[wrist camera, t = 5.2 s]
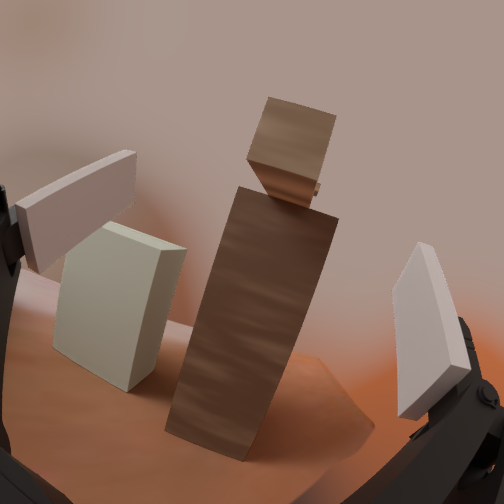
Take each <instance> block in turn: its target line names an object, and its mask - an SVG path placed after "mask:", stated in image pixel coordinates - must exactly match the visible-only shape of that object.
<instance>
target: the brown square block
mask: <svg viewBox="0 0 504 504" xmlns="http://www.w3.org/2000/svg"><path fill="white" fill-rule="evenodd" d="M335 119H336V115H333V114H329V113H326V112H322V111H320V110H316V109H313V108H309V107H306V106H302V105H298V104H295V103H291V102H287V101H283V100H279V99H275V98H271V97H268V100H267V102H266V105H265V108H264V111H263V113H262V116H261V119H260V122H259V124H258V127H257V130H256V133H255V135H254V138H253V141H252V144H251V147H250V150H249V152H248V155H247V161H248V162H249V164H250V166H251V167H252V169H253V171H254V172H255V174H256V176H257V177H258V179H259V180H260V182H261V184H262V185H263V187H264V189H265V190H266V192H267V194H268V195H269V196H272V197H276V198H279V199H282V200H285V201H288V202H291V203H294V204H297V205H300V206H303V207H306V208H309V207H310V204H311V201H312V198H313V196H317V194H318V191H319V188H320V185H321V184H320V183H317V181H318V178H319V175H320V171H321V168H322V164H323V161H324V158H325V154H326V151H327V147H328V144H329V141H330V137H331V133H332V130H333V126H334V123H335Z"/></svg>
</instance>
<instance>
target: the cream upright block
mask: <svg viewBox="0 0 504 504" xmlns="http://www.w3.org/2000/svg"><path fill="white" fill-rule="evenodd" d="M186 252H187V249H186V248H183V247H180V246H177V245H175V244H172V243H169V242H166V241H164V240H161V239H158V238H155V237H153V236H150V235H147V234H144V233H142V232H139V231H136V230H134V229H131V228H128V227H125V226H123V225H120V224H117V223H114V222H112V221H109V222H107V223H106V224H105V225H103V226H102V227H100V228H99V229H98V230H96V231H95V232H94V233H92V234H91V235H90V236H88V237H87V238H86V239H84V240H83V241H82V242H80V243H79V244H78V245H76V246H75V247H74V248H72V249H71V250H70V251H68V252H67V254H66V259H65V264H64V269H63V274H62V279H61V285H60V291H59V297H58V304H57V311H56V319H55V328H54V337H53V348H54V349H56V350H57V351H59V352H60V353H61V354H63V355H64V356H66V357H68V358H69V359H71V360H72V361H74V362H75V363H77V364H78V365H80V366H82V367H83V368H85V369H86V370H88V371H90V372H91V373H93V374H95V375H96V376H98V377H100V378H102V379H103V380H105V381H107V382H109V383H110V384H112V385H114V386H116V387H118V388H119V389H121V390H123V391H125V392H128V391H130V390H131V389H132V388H133V387H134V386H136V385H137V384H138V383H139V382H140V381H142V380H143V379H144V378H145V377H146V376H148V375H149V374H150V373H151V372H152V371H154V369H155V365H156V361H157V357H158V353H159V349H160V345H161V341H162V337H163V333H164V329H165V326H166V322H167V318H168V315H169V311H170V307H171V303H172V300H173V296H174V293H175V289H176V286H177V283H178V279H179V276H180V272H181V269H182V266H183V262H184V259H185V256H186Z"/></svg>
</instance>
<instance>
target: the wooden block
mask: <svg viewBox="0 0 504 504" xmlns="http://www.w3.org/2000/svg"><path fill="white" fill-rule="evenodd" d="M338 220H339V219H338V218H336V217H333V216H330V215H327V214H324V213H321V212H318V211H315V210H312V209H309V208H306V207H303V206H300V205H297V204H294V203H291V202H288V201H285V200H282V199H279V198H276V197H272V196H269V195H266V194H263V193H260V192H256V191H253V190H250V189H247V188H243V187H240V186H239V187H238V190H237V193H236V196H235V199H234V202H233V205H232V208H231V211H230V214H229V217H228V220H227V223H226V226H225V229H224V232H223V235H222V238H221V241H220V244H219V247H218V250H217V254H216V257H215V260H214V263H213V266H212V269H211V273H210V276H209V279H208V282H207V285H206V288H205V292H204V295H203V299H202V301H201V305H200V308H199V311H198V315H197V318H196V321H195V324H194V328H193V331H192V334H191V338H190V341H189V345H188V348H187V351H186V355H185V358H184V362H183V365H182V369H181V372H180V376H179V379H178V383H177V386H176V390H175V394H174V397H173V401H172V404H171V408H170V412H169V415H168V419H167V423H166V427H165V431H167V432H169V433H171V434H173V435H176V436H178V437H180V438H183V439H185V440H187V441H190V442H192V443H194V444H197V445H199V446H202V447H204V448H207V449H210V450H212V451H215V452H218V453H220V454H223V455H226V456H229V457H232V458H234V459H237V460H240V461H244V459H245V457H246V455H247V453H248V451H249V449H250V447H251V445H252V443H253V440H254V438H255V436H256V434H257V432H258V430H259V427H260V425H261V423H262V421H263V419H264V416H265V414H266V412H267V410H268V407H269V405H270V403H271V400H272V398H273V396H274V393H275V391H276V389H277V386H278V384H279V382H280V379H281V377H282V375H283V372H284V370H285V367H286V365H287V362H288V360H289V357H290V355H291V352H292V350H293V347H294V345H295V342H296V340H297V337H298V334H299V332H300V329H301V327H302V324H303V322H304V319H305V316H306V314H307V311H308V308H309V305H310V303H311V299H312V297H313V294H314V292H315V289H316V286H317V283H318V280H319V278H320V275H321V272H322V269H323V266H324V263H325V260H326V257H327V254H328V251H329V248H330V245H331V242H332V239H333V236H334V233H335V230H336V227H337V224H338Z"/></svg>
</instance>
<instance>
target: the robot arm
mask: <svg viewBox="0 0 504 504" xmlns="http://www.w3.org/2000/svg"><path fill="white" fill-rule="evenodd" d="M136 159H137V152H134V151H130V150H126V149H124V150H122V151H119V152H117V153H115V154H112V155H110V156H107V157H105V158H103V159H101V160H99V161H96V162H94V163H92V164H90V165H88V166H85V167H83V168H81V169H79V170H77V171H75V172H73V173H71V174H68V175H66V176H65V177H63V178H60V179H59V180H57V181H55V182H53V183H51V184H49V185H47V186H45V187H43V188H41V189H39V190H38V191H36V192H34V193H32V194H30V195H29V196H27V197H25V198H23V199H21V200H20V201H18V202H16V203H15V205H14V206H12V207H10V208H9V209H8V204H7V198H6V192H5V187H4V186H3V185H0V504H73V503H72V502H71V501H70V500H69V499H68V498H67V497H66V496H65V495H64V494H63V493H61V492H60V491H59V490H57V489H56V488H55V487H53V486H52V485H51V484H49V483H48V482H47V481H45V480H44V479H43V478H41V477H40V476H39V475H38V474H36V473H35V472H33V471H32V470H30V469H29V468H27V467H26V466H25V465H23V464H22V463H21V462H19V461H18V460H16V459H15V458H14V457H13V456H11V448H10V441H9V438H8V435H7V432H6V430H5V428H4V425H3V422H2V388H3V373H4V361H5V352H6V343H7V336H8V329H9V323H10V317H11V311H12V306H13V300H14V296H15V291H16V286H17V282H18V278H19V273H20V269H21V262H20V258H21V257H22V256H24V255H25V257H26V261H27V264H28V268H30V269H32V270H33V271H35V272H36V273H38V274H41V273H42V272H43V271H44V270H46V269H47V268H48V267H50V266H51V265H52V264H53V263H55V262H56V261H57V260H58V259H60V258H61V257H62V256H63V255H65V254H66V253H67V252H68V251H70V250H71V249H72V248H74V247H75V246H76V245H78V244H79V243H80V242H82V241H83V240H84V239H86V238H87V237H88V236H90V235H91V234H92V233H94V232H95V231H96V230H98V229H99V228H100V227H102V226H103V225H105V224H106V223H107V222H109V221H110V220H112V219H113V218H114V217H116V216H117V215H119V214H120V213H122V212H123V211H124V210H126V209H127V208H129V207H130V206H132V205H133V204H134V203H135V178H136V177H135V176H136ZM392 297H393V308H394V319H395V332H396V348H397V369H398V371H397V372H398V417H400V418H405V419H410V420H415V421H417V420H419V419H420V418H421V417H422V416H423V415H424V414H425V413H427V412H428V417H429V422H427V423H426V424H425V425H424V426H423V427H421V428H420V429H419V430H417V431H416V432H415V433H413V434H412V435H411V436H409V437H410V438H411V440H410V441H409V442H408V443H407V444H406V445H405V446H404V447H403V448H402V449H401V450H400V451H399V452H398V453H397V454H396V455H395V456H394V457H393V458H392V459H391V460H390V461H389V462H388V463H387V464H386V465H385V466H384V467H383V468H382V469H381V470H380V471H378V472H377V473H376V474H375V475H374V476H373V477H372V478H371V479H369V480H368V481H367V482H366V483H365V484H364V485H363V486H361V487H360V488H359V489H358V490H357V491H355V492H354V493H353V494H352V495H351V496H349V497H348V498H347V499H346V500H344V501H343V502H342V503H340V504H504V407H502V406H500V399H499V396H498V393H497V391H496V390H495V388H494V387H493V385H491V384H490V383H489V382H488V381H487V380H484V379H482V375H481V371H480V367H479V363H478V359H477V355H476V351H474V349H475V347H474V344H473V342H472V337H471V333H470V330H469V328H468V326H467V325H466V323H465V321H464V320H463V318H461V317H458V316H457V313H456V310H455V307H454V303H453V301H452V297H451V294H450V291H449V288H448V285H447V282H446V280H445V277H444V274H443V272H442V269H441V266H440V263H439V261H438V258H437V255H436V253H435V250H434V248H433V247H432V246H430V245H427V244H425V243H422V242H420V241H418V243H417V245H416V247H415V249H414V251H413V253H412V255H411V256H410V258H409V260H408V262H407V264H406V266H405V268H404V270H403V272H402V273H401V275H400V277H399V279H398V281H397V282H396V284H395V286H394V288H393V290H392ZM493 465H495V466H494V469H493V470H492V466H493ZM491 470H492V471H491Z"/></svg>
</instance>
